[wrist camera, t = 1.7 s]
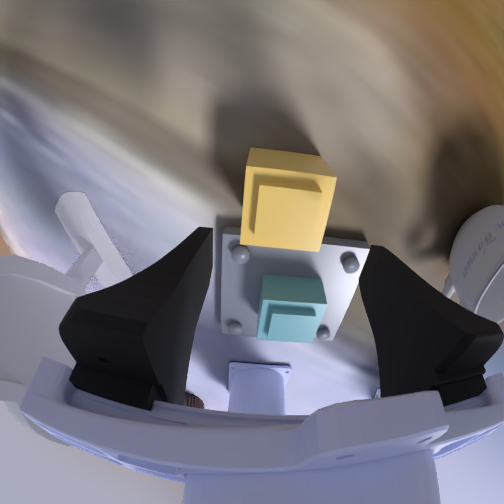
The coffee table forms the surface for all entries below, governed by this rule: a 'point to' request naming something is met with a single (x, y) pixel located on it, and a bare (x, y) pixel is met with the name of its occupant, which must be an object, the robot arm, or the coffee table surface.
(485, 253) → the teacup
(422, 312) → the robot arm
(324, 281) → the base plate
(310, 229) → the ochre brick
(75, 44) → the coffee table surface
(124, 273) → the heart sculpture
